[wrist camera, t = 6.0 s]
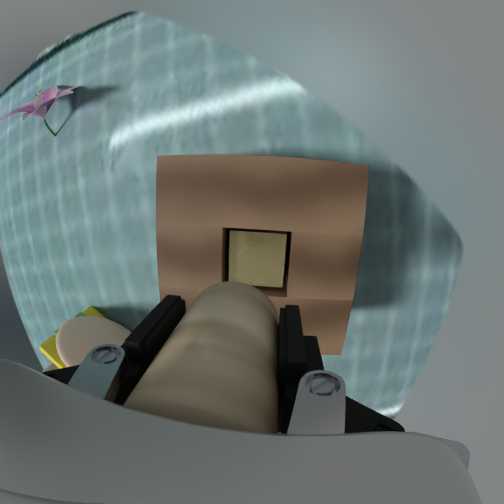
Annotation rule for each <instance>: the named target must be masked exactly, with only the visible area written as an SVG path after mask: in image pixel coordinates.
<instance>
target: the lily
mask: <svg viewBox="0 0 504 504" xmlns="http://www.w3.org/2000/svg"><path fill="white" fill-rule="evenodd" d="M77 87H79V86H76V87H72V88H68V89H65V90H62V91H60V92H58V87H57V86H54V87H51V88H49V89H47V90H45V91H43V92H41V93H40V91H39V95H37V94H36V98H35V99H34V101H32V102H29V103H27V104H24V105H22V106H21V107H19V108H17V109H15V110H13V111H11V112H9V113H8V114H6V115H5V116H4V117H2V118H1V119H0V121H1V120H3V119H5V118H7V117H9V116H11V115H13V114H16V113H19V112H27V113H24V114H23V116H22V118H23V120H25V119H27V118H28V117H29V116H30V115H33V116H37V117H40V118H42V119H43V121H44V123H45V125H46V127H47V128H48V129H49V131H50V132H51V133H52V134H53V135H54V136H56V134H55V133H54V132H53V131H52V130H51V129H50V127H49V126H48V124H47V123H46V120H45V115H46V113H47V111H48V110H49V108H50V107H51V105H52V104H53V103H54V102H55V101H56V100H57V99H58V98H59V97H60V96H64V95H68V94H71V93H73V91H71V90H72V89H74V88H77ZM57 92H58V93H57Z"/></svg>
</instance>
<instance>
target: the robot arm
mask: <svg viewBox="0 0 504 504" xmlns="http://www.w3.org/2000/svg"><path fill="white" fill-rule="evenodd" d="M185 313H186V303H185V300H184V299H182V298H181V296H178V295H169V294H168V295H167V296H166V297H165V298H164V299H163V300H162V301H161V302H160V303H159V304H158V305H157V306H156V307H155V308H154V309H153V310H152V311H151V312H150V313H149V314H148V316H147V317H146V318H145V319H144V320H143V321H142V322H141V323H140V324H139V325H138V326H137V327H136V328H135V329H134V331H133V332H132V333H131V334H130V335H129V336H128V337H127V338H126V339H125V342H124V343H123V344H122V345H121V346H118V345H114V344H103V345H99V346H96V347H94V348H93V349H91V350H90V351H89V353H88V354H87V356H86V357H85V359H84V360H83V362H82V363H81V364H80V365H75V366H70V367H66V368H61V369H55V370H50V371H45V372H42V373H39V372H37V371H35V370H33V369H31V368H29V367H26V366H24V365H21V364H19V363H15V362H12V361H8V360H1V359H0V504H482V502H481V499H480V497H479V494H478V492H477V489H476V487H475V485H474V483H473V480H472V478H471V476H470V474H469V472H468V465H469V458H470V457H469V456H470V455H469V451H468V449H467V447H466V446H465V445H464V444H462V443H460V442H457V441H452V440H447V439H442V438H437V437H434V436H430V435H425V434H421V433H417V432H412V433H411V432H405V430H404V428H403V427H402V426H401V425H400V424H399V423H397V422H396V421H394V420H392V419H390V418H388V417H386V416H384V415H382V414H380V413H378V412H376V411H374V410H372V409H370V408H368V407H366V406H364V405H362V404H360V403H358V402H356V401H355V400H353V399H351V398H349V397H347V396H345V390H346V386H345V382H344V380H343V379H342V378H341V377H340V376H339V375H337V374H335V373H333V372H330V371H325V370H324V367H323V362H322V357H321V353H320V348H319V344H318V339H317V336H307V335H303V329H302V323H301V316H300V310H299V305H285V308H280V315H279V335H278V427H277V433H263V432H251V431H241V430H232V429H225V428H218V427H211V426H205V425H199V424H194V423H188V422H183V421H179V420H174V419H170V418H165V417H161V416H157V415H153V414H149V413H146V412H142V411H139V410H135V409H132V408H128V407H125V406H123V405H124V403H125V402H126V400H127V399H128V397H129V396H130V394H131V393H132V391H133V390H134V388H135V387H136V385H137V384H138V382H139V381H140V379H141V378H142V376H143V375H144V373H145V372H146V370H147V369H148V367H149V366H150V364H151V363H152V361H153V360H154V358H155V357H156V356H157V354H158V353H159V351H160V350H161V348H162V347H163V345H164V344H165V342H166V341H167V339H168V338H169V337H170V335H171V334H172V332H173V331H174V329H175V328H176V326H177V325H178V323H179V322H180V321H181V319H182V318H183V316H184V315H185ZM281 433H282V434H281Z"/></svg>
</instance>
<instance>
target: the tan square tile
mask: <svg viewBox="0 0 504 504" xmlns="http://www.w3.org/2000/svg"><path fill="white" fill-rule="evenodd" d="M286 237H287V233H286V232H280V231H265V230H249V229H231V230H230V245H229V281H235V282H241V283H245V284H248V285H252V286H266V287H280V288H282V286H283V275H284V263H285V250H286Z"/></svg>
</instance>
